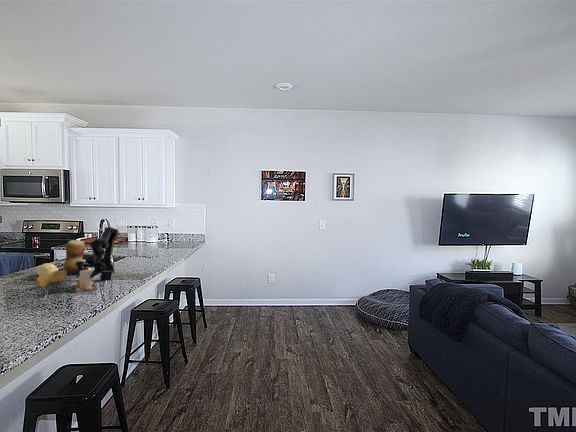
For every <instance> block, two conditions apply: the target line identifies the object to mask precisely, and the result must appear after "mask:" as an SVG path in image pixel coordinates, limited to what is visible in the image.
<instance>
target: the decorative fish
mask: <svg viewBox="0 0 576 432" xmlns="http://www.w3.org/2000/svg"><path fill="white" fill-rule="evenodd" d="M67 273H68V272H67V271H66V270H58V271H54V272H53V273H52V274H51V275H50V276H48V277H39V276H38V277H37V278H36V279H35V285H36V286H37V287H39V288H41V289H43V288H45V287H47V286H48V285H51V284H54V283H57V282H59V283H60V282H62V280H63V278H64V277H66V275H67Z"/></svg>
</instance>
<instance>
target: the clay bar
mask: <svg viewBox="0 0 576 432" xmlns="http://www.w3.org/2000/svg"><path fill="white" fill-rule="evenodd" d="M91 274H92V269H87V268H86V269H84V270H81V271H80V276H79V282H80V289H85V288H91V281H92V278H90V276H91Z"/></svg>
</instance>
